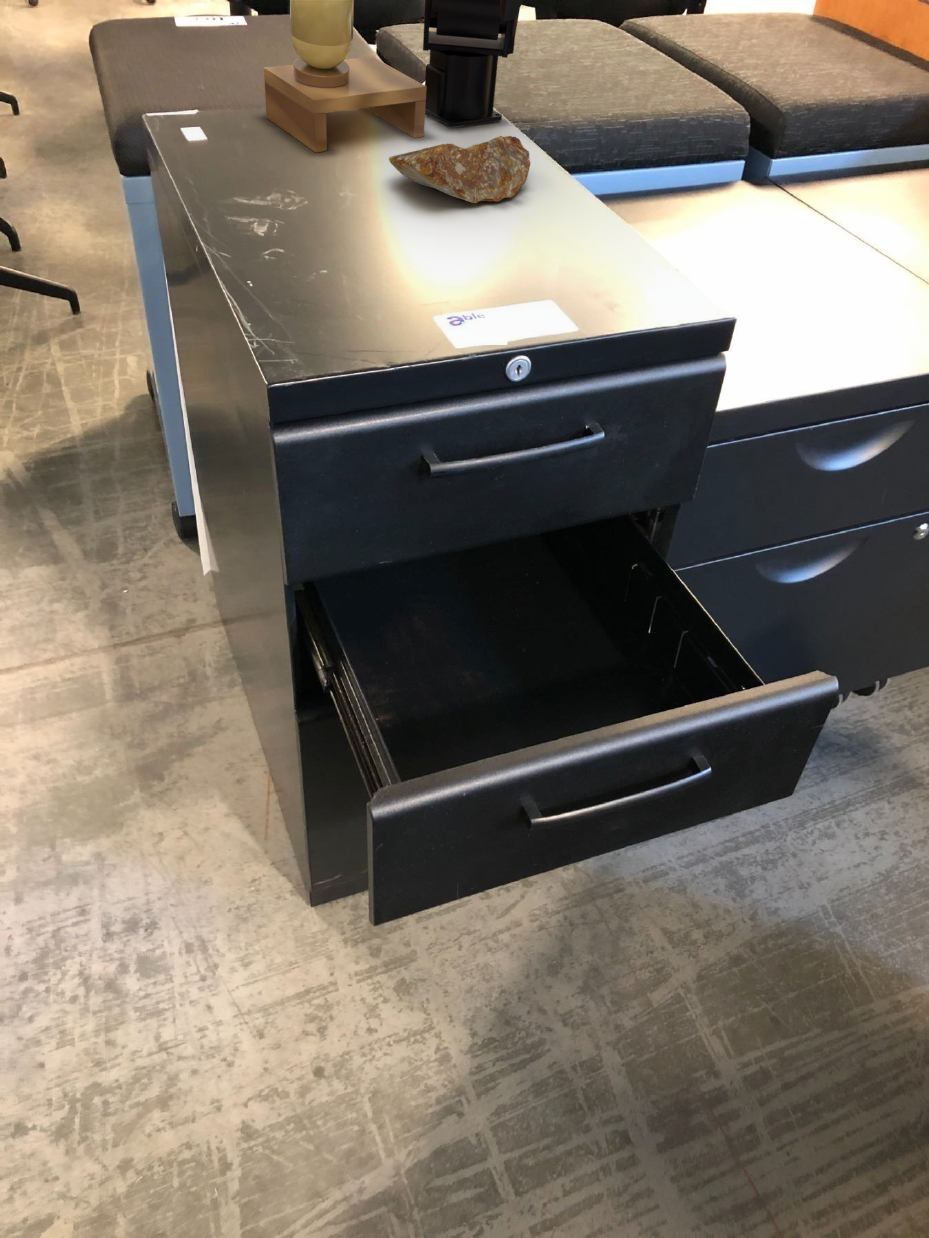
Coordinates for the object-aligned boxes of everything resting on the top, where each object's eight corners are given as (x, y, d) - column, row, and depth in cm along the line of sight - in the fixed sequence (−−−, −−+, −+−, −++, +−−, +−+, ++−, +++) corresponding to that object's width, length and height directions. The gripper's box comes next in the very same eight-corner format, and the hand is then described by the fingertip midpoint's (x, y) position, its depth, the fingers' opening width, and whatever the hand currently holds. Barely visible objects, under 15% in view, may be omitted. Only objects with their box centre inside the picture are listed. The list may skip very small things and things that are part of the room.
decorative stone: (364, 126, 81) (479, 116, 90) (359, 181, 83) (472, 166, 93) (448, 159, 76) (559, 145, 86) (441, 216, 79) (549, 196, 89)
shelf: (371, 105, 100) (372, 56, 97) (424, 136, 95) (426, 86, 92) (266, 118, 95) (263, 67, 92) (315, 152, 89) (314, 100, 86)
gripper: (332, -264, 71) (334, -17, 82) (478, -235, 61) (458, 44, 72) (456, -255, 77) (443, -23, 87) (610, -226, 66) (573, 33, 77)
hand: (474, 5), depth 81 cm, fingers open, 9 cm apart
